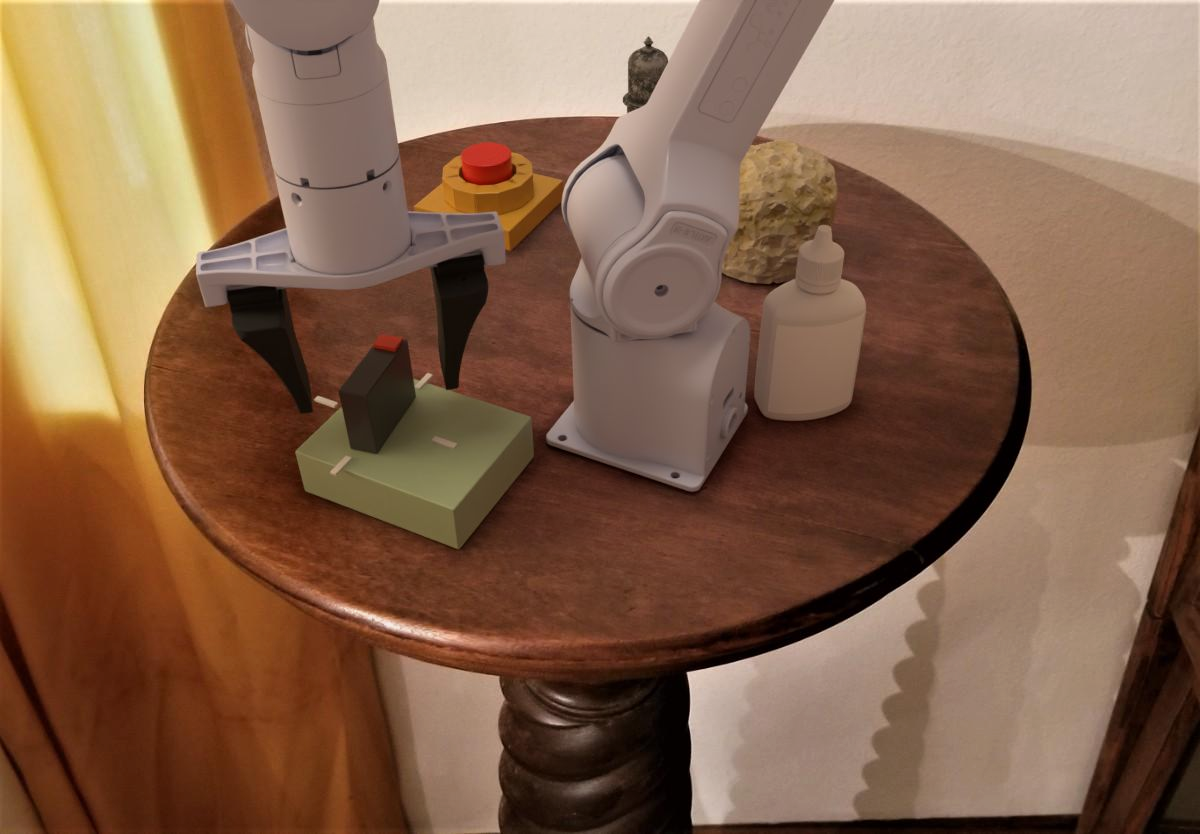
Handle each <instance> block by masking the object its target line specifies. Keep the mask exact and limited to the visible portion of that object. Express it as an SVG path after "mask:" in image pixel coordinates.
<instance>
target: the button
mask: <svg viewBox="0 0 1200 834" xmlns="http://www.w3.org/2000/svg"><path fill="white" fill-rule="evenodd" d="M511 152H512V151H511V149H510V148H509V146H507V145H505V144H502V143H498V142H480V143H475V144H472V145H470V146H468V147H466V148H465V149H464V150H463V151H462V152H461V153H460V155H461V160H462V170H463V178H464V180H465V181H466V182H467V183H471V184H475V185H495V184H498V183H501V182H505V181H508V180H510V179H511V178H512V176H513V169H512V155H511Z"/></svg>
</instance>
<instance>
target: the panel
mask: <svg viewBox="0 0 1200 834" xmlns="http://www.w3.org/2000/svg"><path fill="white" fill-rule="evenodd" d="M433 377H434V374H432V373H430V372H427V373H426V374H425V375H424V376H423V377H422V378H421V379H420V380H419V379H416V378H413V380H414V386H415V393H416V398H415V399H414V401H413V402H412V404H411V405H410V406H409V408H408V409H407V411H406V412H405V414H404V415H403V417H402V418H401V420H400V421H399V423H398V424H397V426H396V427H395V429H394V430H393V432H392V433H391V434H390V436H389V437H388V439H387V440H386V442H385V443H384V445H383V446H382V448H381V449H380V451H379V452H378V454H374V453H369V452H365V451H360V450H355V449H351V448H350V444H349V439H348V434H347V430H346V425H345V420H344V415H343V410H342V406H340V407H339V408H338V409H337V410H336V411H335V412H334V413H333V414H332V415H331V416H330V417H329V418H328V419H327V420H326V421H325V422H324V423H323V424H321V426H320V427H318V429H317V430H316V431H314V433H313V434H311V435H310V436H309V437H308V439H306V440H305V441H304V442H303V443H302V444H301V445H300V446H299V447H298V448H297V449H296V450H295V456H296V460H297V465H298V469H299V473H300V476H301V481H302V485H303V488H304V491H305V492H306V493H309V494H311V495H315V496H317V497H320V498H321V499H325V500H328V501H330V502H333V503H335V504H338V505H340V506H343V507H346V508H348V509H351V510H353V511H357V512H359V513H362V514H364V515H367V516H370V517H372V518H375V519H378V520H380V521H383V522H385V523H388V524H390V525H393V526H396V527H398V528H401V529H404V530H406V531H409V532H411V533H414V534H417V535H419V536H422V537H425V538H427V539H429V540H432V541H435V542H438V543H441V544H443V545H446V546H448V547H451V548H453V549H456V550H461V548H462V547H463V546H464V544H465V543H466V542H467V540H468V539H469V538H470V537H471V536H472V534H473V533H474V532H475V531H476V529H477V528H479V526H480V525H481V524H482V523H483V521H484V519H486V517H487V516H488V515H489V513H490V512H491V511H492V510H493V508H494V507H495V506H496V504H498V502H499V501H500V500H501V499H502V497H503V496H504V495H505V493H506V492H507V491H508V490H509V488H510V487H511V486H512V485H513V483H514V482H515V481H516V479H518V477H519V476H520V475H521V473H522V472H523V471H524V470H525V469H526V467H528V465H529V463H531V462H532V459H534V458H535V450H534V438H533V437H534V436H533V424H532V423H533V421H532V417H531V415H530V416H529V415H526V414H523V413H520V412H517V411H514V410H511V409H508V408H505V407H502V406H499V405H496V404H493V403H490V402H487V401H483V400H481V399H477V398H474V397H471V396H468V395H465V394H462V393H459V392H456V391H453V390H451V389H450V390H446V388H443V387H440V386H437V385H434V384H431V383H428V382H429V381H431V379H432V378H433ZM313 401H314V402H315V403H318V404H322V405H324V406H327V407H329V408H333V409H336V408H337V407H338V406H339V402H337V401H335V400H331V399H329V398H326V397H323V396H321V395H317V396H316V397H315V398H314V399H313Z"/></svg>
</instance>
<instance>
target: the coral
mask: <svg viewBox="0 0 1200 834" xmlns="http://www.w3.org/2000/svg"><path fill="white" fill-rule="evenodd" d="M838 197H839V191H838V183H837V179H836V169H835V167H834V166H833V165H832V163H831V162H829V159H828V158H827V157H826V156H825V155H824V154H821V153H820V150H815V149H813V148H810V147H807V146H803V145H801V144H799V143H798V142H793V141H790V140H782V139H780V138H777V139H774V140H772V141H767V142H763V143H759V144H751V146H750V148H749V149H748V151H747V153H746V155H745V156H744V158H743V160H742V162H741V165H740V184H739V224H738V230H737V232H736V233H735V235H734V237H733V238H732V240H731V242H730V244H729V246H728V248H727V250H726V252H725V255H724V259H723V262H722V274H724V275H726V276H727V277H729V278H733V279H736V280H739V281H742V282H745V283H751V284H763V285H764V284H765V285H771V284H772V283H775V284H781V283H787V282H789V281H791V280H793V279H795V278H796V269H797V260H798V252H799V248H800V246H801V245H802V244H803V243H805V242H807V241H810V240H814V238H815V235H816V232H817V229H818V227H819V226H820V225H828V226H830V227H831V230H832V229H833V227H834V221H835V213H836V209H837V203H838Z"/></svg>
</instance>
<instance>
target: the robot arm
mask: <svg viewBox="0 0 1200 834" xmlns="http://www.w3.org/2000/svg"><path fill="white" fill-rule="evenodd" d="M231 2H232V5H233V6H234V8H235V11H236V12H237V13H238V15H239V16H240V17H241V19H242V20H243V21H244V23H245V26H244V34H245V40H246V44H247V48H248V50H249V51H250V54H251V55H252V56H253V59H254V60H253V61H254V62H253V64H252V68H251V70H252V72H251V73H252V74H251V76H252V80H253V86H254V90H255V94H256V99H257V103H258V108H259V113H260V116H261V121H262V125H263V130H264V135H265V139H266V144H267V148H268V153H269V158H270V162H271V166H272V169H273V173H274V178H275V184H276V187H277V193H278V197H279V200H280V206H281V211H282V214H283V220H284V225H285V227H284V228H282V229H278V230H275V231H272V232H270V233H267V234H266V233H265V234H263V235H260V236H257V237H253V238H251V239H248V240H244V241H241V242H239V243H238V242H237V243H234V244H232V245H227V246H224V247H219V248H216V249H209V250H203V251H198V252H197V253H196V263H195V275H196V279H197V283H198V286H199V290H200V293H201V297H202V300H203V303H204V306H205V308H213V307H218V306H220V307H221V306H224V305H226V304H229V309H230V310H229V311H230V313H231V326H232V328H233V331H234V333H235V334H236V336H237V337H238V339H239V340H240V341H241V342H242V343H244V344H245V345H247V346H248V347H249V348H250V349H251V350H253V351H254V353H256V354H257V355H258V356H259V357H260V358H262V360H263V361H264V362H265V363H266V364H267V365H268V366H269V367H270V368H271V370H272V371H273V372H274V373H275V375H277V377H278V379H280V381H281V382H282V384H283V385H284V387H285V389H286V390H287V391H288V393H289V395H290V397H291V399H292V400H293V402H294V404H295V406H296V409H297V411H298V413H299V414H300V415H303V414H309V413H313V412H314V410H313V399H312V388H311V383H310V377H309V374H308V369H307V366H306V362H305V360H304V357H303V354H302V350H301V347H300V344H299V341H298V338H297V334H296V330H295V327H294V322H293V317H292V311H291V307H290V302H289V297H288V293H287V289H290V288H295V289H312V290H331V291H334V290H335V291H348V290H350V291H351V290H361V289H365V288H370V287H373V286H374V287H375V286H377V285H381V284H385V283H387V282H389V281H392V280H395V279H397V278H400V277H403V276H406V275H409V274H412V273H415V272H416V271H417V272H418V271H420V270H423V269H430V274H431V280H432V286H433V296H434V301H435V308H436V322H437V323H436V324H437V347H438V348H437V349H438V357H439V363H440V368H441V374H442V378H443V382H444V386H445V389H446V390H450V391H451V390H455V389H458V388H459V387H460V373H461V367H462V361H463V356H464V353H465V350H466V345H467V342H468V340H469V336H470V334H471V332H472V330H473V327H474V324H475V323H476V320H477V319H478V317H479V315H480V313H481V311H482V310H483V308H484V307H485V305H486V303H487V300H488V296H489V280H488V276H487V273H486V269H485V266H487V267H493V266H500V265H501V266H502V265H505V264H507V257H506V255H507V254H506V250H505V242H504V231H503V228H502V225H501V222H500V219H499V216H498V214H497V212H496V211H495V212H486V213H471V214H462V213H436V212H415V211H414V210H413V211H411V210H410V211H409V209H408V203H407V195H406V190H405V188H406V187H405V181H404V175H403V174H404V173H403V169H402V161H401V154H400V149H399V148H400V147H399V141H398V133H397V125H396V120H395V119H396V118H395V114H394V113H395V112H394V105H393V98H392V91H391V86H390V85H391V84H390V78H389V71H388V70H389V69H388V61H387V58H386V55H385V53H384V51H383V49H382V48H381V46H380V44H379V43H378V41H377V34H376V33H377V32H376V26H375V20H374V17H375V15H376V12H377V10H378V7H379V4H380V0H231ZM834 2H835V0H699V1H698V3H697V5H696V7H695V9H694V11H693V12H692V14H691V17H690V19H689V21H688V22H687V24H686V26H685V28H684V31H683V32H682V34H681V36H680V38H679V40H678V42H677V44H676V46H675V48H674V50H673V52H672V54H671V55H670V57H669V58H668V63H667V65H666V67H665V69H664V71H663V73H662V75H661V77H660V79H659V81H658V83H657V85H656V87H655V89H654V91H653V93H652V95H651V97H650V99H649V100H648V102H647V104H646V105H644V106H642V107H640V108H638V109H636V110H634V111H631V112H629V113H627V112H626V113H625V114H623V115H621V116H619V117H618V118H617V119H616V120H615V122H614V124H613V126H612V127H611V128H612V129H611V130H610V132H609V134H608V135H607V137H606V139H605V140H604V142H602V144H601V145H600V146H599V147H598V148H597V149H596V150H595V151H594V152H593V153H591V154H590V155H589V156H588V157H586V158H585V159H584V160H583V161H581V162H580V163H579V164H578V165H577V166H576V167H575V168H574V169H573V171H572V172H571V174H570V175H569V177H568V179H567V181H566V182H565V185H564V187H563V195H562V202H561V214H562V217H563V220H564V223H565V226H566V228H567V229H568V230H569V232H570V234H571V235H572V237H573V239H574V240H575V244H576V245H577V248H578V251H579V253H580V256H581V258H580V259H579V263H578V267H577V269H576V271H575V274H574V276H573V278H572V280H571V284H570V287H569V301H570V308H569V309H570V332H571V357H572V358H571V361H572V385H573V387H572V388H573V389H572V390H573V401H572V402H571V403H570V405H569V406H568V407H567V408H566V409H565V410H564V412H563V413H562V414H561V415H560V417H559V418H558V419H557V420H556V422H555V423H554V424H553V425H552V427H551V428H550V429H549V431H547V433H546V435H545V441H546V443H547V444H548V445H549V446H550V447H551V446H552V447H555V448H557V449H560V450H563V451H566V452H570V453H572V454H575V455H578V456H582V457H585V458H588V459H590V460H594V461H597V462H599V463H603V464H605V465H607V466H612V467H614V468H617V469H621V470H624V471H627V472H630V473H633V474H636V475H640V476H642V477H645V478H648V479H650V480H654V481H657V482H660V483H662V484H666V485H668V486H671V487H674V488H677V489H681V490H684V491H686V492H691V493H694V492H697V491H699V490H700V489H701V488H702V486H703V484H704V483H705V482H706V480H707V479H708V477H709V475H710V474H711V472H712V470H713V468H714V467H715V466H716V464H717V463H718V461H719V460H720V458H721V456H722V454H723V452H724V451H725V450H726V448H727V446H728V444H729V443H730V441H731V439H732V438H733V437H734V435H735V434H736V432H737V430H738V429H739V427H740V425H741V423H742V422H743V420H744V419H745V417H746V416H747V414H748V411H749V406H748V404H747V403H746V395H747V394H746V392H747V382H748V369H749V361H750V359H749V358H750V350H751V349H750V348H751V347H750V346H751V326H750V322H749V320H748V319H747V318H745V317H743V316H741V315H739V314H736V313H734V312H732V311H730V310H728V309H726V308H725V307H723V306H721V305H720V304H719V303H717V302H716V299H717V297H718V295H719V292H720V288H721V285H722V276H723V275H722V274H723V273H722V262H723V259H724V255H725V252H726V250H727V248H728V246H729V244H730V242H731V240H732V238H733V237H734V235H735V233H736V232H737V230H738V224H739V184H740V165H741V162H742V160H743V158H744V156H745V155H746V153H747V151H748V149H749V148H750V146H751V145H753V143H754V140H755V139H756V137H757V135H758V134H759V133H760V131H761V129H762V127H763V126H764V124H765V122H766V120H767V118H768V116H769V115H770V113H771V111H772V109H773V108H774V106H775V104H776V103H777V101H778V100H779V98H780V96H781V94H782V92H783V90H784V89H785V87H786V85H787V83H788V82H789V80H790V78H791V77H792V75H793V73H794V72H795V70H796V68H797V66H798V64H799V63H800V61H801V60H802V57H803V55H804V54H805V52H806V50H807V48H808V47H809V45H810V43H811V42H812V40H813V38H814V36H815V35H816V33H817V31H818V30H819V28H820V26H821V24H822V23H823V21H824V19H825V18H826V15H827V14H828V12H829V11H830V9H831V7H832V5H833V3H834Z"/></svg>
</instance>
